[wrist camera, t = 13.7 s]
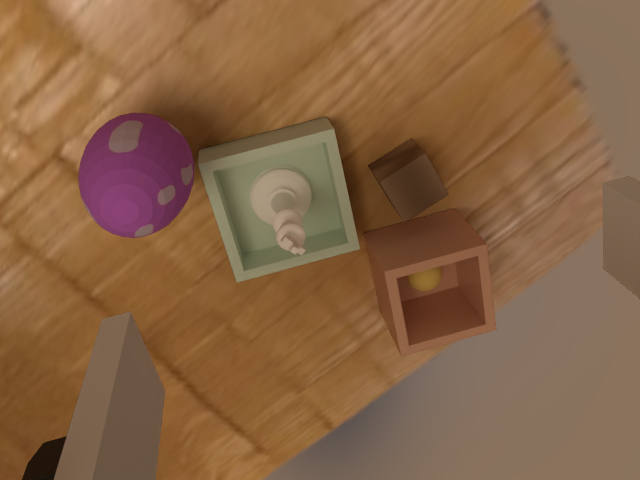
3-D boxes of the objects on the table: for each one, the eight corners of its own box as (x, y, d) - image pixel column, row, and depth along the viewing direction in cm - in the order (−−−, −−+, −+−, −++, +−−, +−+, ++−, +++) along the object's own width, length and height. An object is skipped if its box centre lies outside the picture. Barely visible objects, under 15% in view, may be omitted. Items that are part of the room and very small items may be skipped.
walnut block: (391, 203, 51) (404, 222, 47) (367, 165, 49) (379, 182, 46) (432, 177, 51) (448, 194, 47) (410, 138, 49) (425, 152, 45)
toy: (177, 190, 48) (163, 284, 34) (91, 157, 45) (40, 243, 32) (211, 112, 45) (210, 181, 32) (122, 73, 43) (81, 129, 30)
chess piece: (286, 234, 50) (301, 296, 41) (236, 202, 48) (240, 259, 39) (324, 188, 49) (347, 241, 40) (273, 153, 47) (287, 200, 38)
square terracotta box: (379, 310, 55) (401, 356, 49) (363, 232, 52) (384, 271, 45) (464, 287, 56) (496, 329, 49) (454, 208, 52) (487, 243, 46)
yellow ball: (404, 284, 54) (414, 301, 51) (399, 254, 52) (409, 271, 50) (437, 275, 54) (449, 292, 51) (433, 245, 52) (445, 261, 50)
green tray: (235, 262, 51) (236, 282, 48) (199, 149, 46) (197, 164, 43) (351, 230, 51) (360, 249, 48) (326, 116, 47) (334, 128, 44)
